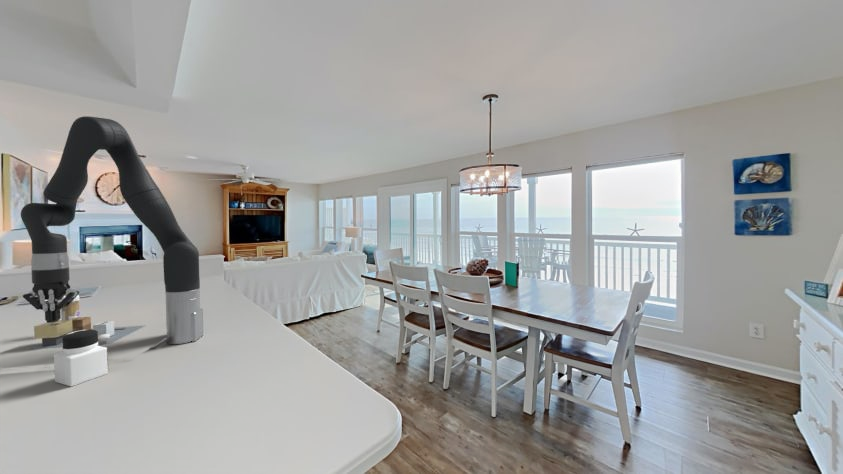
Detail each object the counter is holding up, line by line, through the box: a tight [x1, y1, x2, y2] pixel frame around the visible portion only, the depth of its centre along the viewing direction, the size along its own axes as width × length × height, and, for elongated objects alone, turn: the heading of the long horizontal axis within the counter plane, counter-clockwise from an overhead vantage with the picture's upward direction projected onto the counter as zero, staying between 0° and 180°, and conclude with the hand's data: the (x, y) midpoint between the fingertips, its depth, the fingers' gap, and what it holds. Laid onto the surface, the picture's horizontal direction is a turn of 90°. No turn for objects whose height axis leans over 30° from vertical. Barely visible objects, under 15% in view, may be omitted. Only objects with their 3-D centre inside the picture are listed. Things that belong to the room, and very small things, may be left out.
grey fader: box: [92, 320, 115, 336], centre depth 102 cm, size 4×4×5 cm
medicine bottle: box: [53, 328, 109, 387], centre depth 78 cm, size 7×7×12 cm
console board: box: [30, 324, 147, 350], centre depth 103 cm, size 20×18×5 cm
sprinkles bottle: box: [60, 294, 81, 320], centre depth 110 cm, size 5×5×14 cm
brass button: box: [33, 319, 73, 340], centre depth 97 cm, size 6×6×4 cm
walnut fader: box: [70, 316, 92, 333], centre depth 107 cm, size 4×4×5 cm
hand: (52, 321), depth 96 cm, fingers closed
